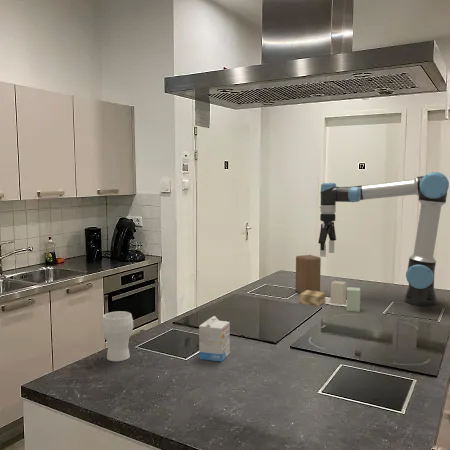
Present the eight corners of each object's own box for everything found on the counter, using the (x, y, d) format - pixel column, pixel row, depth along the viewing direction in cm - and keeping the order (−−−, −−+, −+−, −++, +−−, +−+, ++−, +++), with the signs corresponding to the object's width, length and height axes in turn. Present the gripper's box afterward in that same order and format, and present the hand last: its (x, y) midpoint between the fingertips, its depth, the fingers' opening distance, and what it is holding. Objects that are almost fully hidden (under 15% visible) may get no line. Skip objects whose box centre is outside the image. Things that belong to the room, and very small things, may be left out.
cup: (133, 362, 156) (132, 318, 155) (101, 364, 155) (99, 320, 153) (134, 350, 167) (133, 310, 165) (104, 352, 165) (102, 311, 163)
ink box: (221, 362, 156) (221, 323, 155) (198, 359, 159) (198, 321, 158) (230, 353, 164) (230, 316, 163) (208, 350, 167) (208, 314, 166)
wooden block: (294, 291, 254) (295, 255, 252) (309, 289, 259) (310, 254, 257) (305, 295, 245) (305, 258, 243) (320, 293, 250) (321, 257, 248)
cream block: (345, 301, 234) (346, 282, 233) (342, 304, 228) (342, 284, 228) (334, 299, 237) (334, 280, 236) (330, 302, 231) (330, 283, 230)
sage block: (359, 308, 221) (360, 287, 220) (359, 311, 215) (360, 290, 214) (346, 307, 223) (346, 287, 222) (346, 310, 217) (346, 289, 216)
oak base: (325, 302, 234) (325, 292, 233) (318, 306, 225) (318, 296, 225) (306, 299, 239) (306, 289, 238) (299, 303, 230) (299, 294, 230)
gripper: (328, 211, 248) (328, 250, 250) (312, 214, 226) (311, 257, 228) (342, 212, 244) (341, 251, 246) (327, 215, 223) (326, 258, 225)
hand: (327, 254), depth 237 cm, fingers open, 13 cm apart
